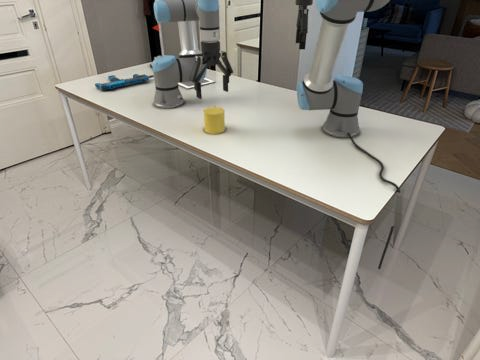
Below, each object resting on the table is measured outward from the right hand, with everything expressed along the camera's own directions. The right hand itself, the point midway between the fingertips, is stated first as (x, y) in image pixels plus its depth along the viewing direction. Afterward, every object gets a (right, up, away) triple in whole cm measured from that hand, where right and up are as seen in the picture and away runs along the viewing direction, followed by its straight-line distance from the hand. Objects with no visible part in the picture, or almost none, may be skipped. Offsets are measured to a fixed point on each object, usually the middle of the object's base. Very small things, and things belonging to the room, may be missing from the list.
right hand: (300, 46), depth 160 cm
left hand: (-40, -27, -17) cm, 51 cm away
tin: (-40, -41, -9) cm, 57 cm away
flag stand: (-82, +19, +83) cm, 118 cm away
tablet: (-62, 0, +54) cm, 82 cm away
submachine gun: (-100, -3, +49) cm, 111 cm away
